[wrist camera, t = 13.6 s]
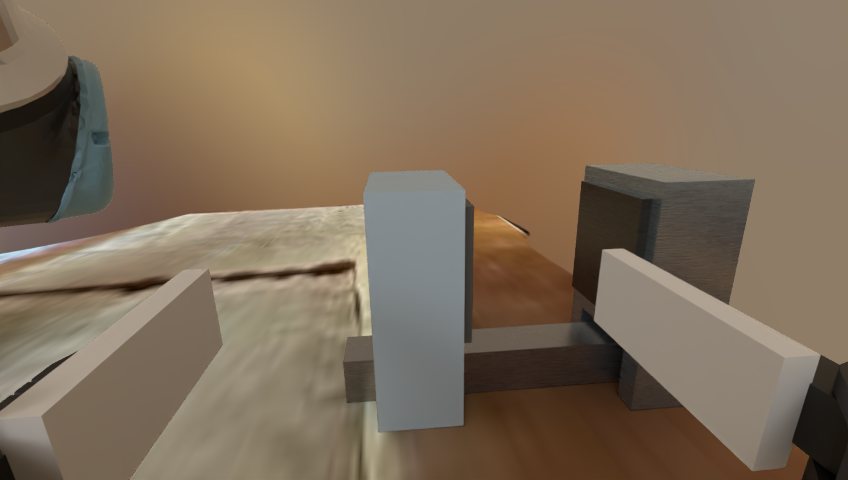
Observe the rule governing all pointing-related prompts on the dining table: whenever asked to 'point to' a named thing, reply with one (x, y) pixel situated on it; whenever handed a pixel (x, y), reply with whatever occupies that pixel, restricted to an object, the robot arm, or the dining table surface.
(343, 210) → the dining table surface
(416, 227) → the tall grey-blue pillar
